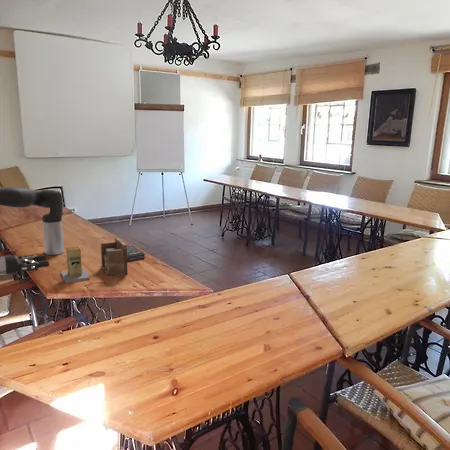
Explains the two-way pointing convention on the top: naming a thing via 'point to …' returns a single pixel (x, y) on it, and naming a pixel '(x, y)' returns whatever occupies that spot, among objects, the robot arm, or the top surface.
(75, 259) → the shoe polish box
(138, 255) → the box
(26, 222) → the top surface
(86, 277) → the rubber mat
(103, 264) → the offcut rack
